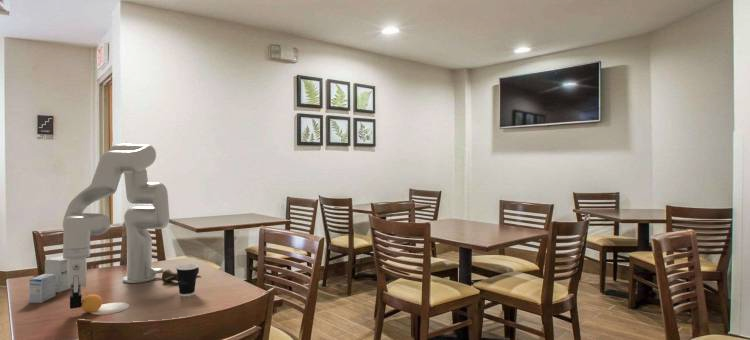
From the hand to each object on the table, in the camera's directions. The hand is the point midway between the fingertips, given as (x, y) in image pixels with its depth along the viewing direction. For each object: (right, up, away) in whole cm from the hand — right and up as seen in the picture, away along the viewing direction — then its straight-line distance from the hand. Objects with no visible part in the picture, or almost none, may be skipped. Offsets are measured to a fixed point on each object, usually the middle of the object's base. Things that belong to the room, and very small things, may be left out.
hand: (75, 307), depth 149 cm
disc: (+8, -2, +6) cm, 10 cm away
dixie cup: (+28, -3, +23) cm, 36 cm away
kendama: (+16, -2, +43) cm, 46 cm away
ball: (+4, +1, +3) cm, 5 cm away
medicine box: (-22, -2, +15) cm, 27 cm away
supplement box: (-25, -2, +28) cm, 37 cm away
